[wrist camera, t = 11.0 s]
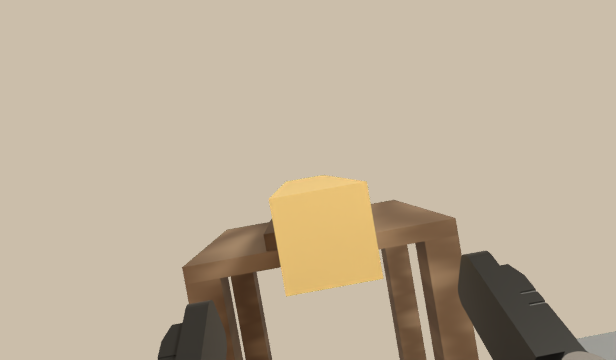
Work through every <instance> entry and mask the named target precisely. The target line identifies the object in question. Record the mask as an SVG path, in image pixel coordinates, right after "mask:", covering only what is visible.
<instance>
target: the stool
mask: <svg viewBox="0 0 616 360" xmlns="http://www.w3.org/2000/svg"><path fill="white" fill-rule="evenodd" d="M371 209H372V215H373V221H374V227H375V233H376V239H377V244H378V249H381V251H382V257H383V263H384V268H385V274H386V280H387V287H388V292H389V298H390V304H391V310H392V316H393V322H394V327H395V333H396V339H397V345H398V350H399V357H400V360H426V354H425V350H424V343H423V337H422V331H421V325H420V319H419V313H418V307H417V301H416V296H415V289H414V284H413V277H412V272H411V266H410V260H409V254H408V248H407V244H411V243H415V244H416V249H417V256H418V261H419V268H420V274H421V279H422V285H423V291H424V297H425V303H426V309H427V315H428V321H429V327H430V333H431V339H432V345H433V351H434V357H435V360H479V359H478V353H477V346H476V340H475V334H474V328H473V324H472V322H471V320H470V319H469V317H468V315H467V313H466V312H465V310H464V308H463V306H462V304H461V301H460V298H459V294H458V280H459V270H460V261H461V256H462V255H461V249H460V244H459V237H458V231H457V225H456V219H455V218H453V217H450V216H446V215H443V214H439V213H436V212H433V211H429V210H426V209H423V208H419V207H416V206H412V205H409V204H406V203H403V202H399V201H396V200H392V201H385V202H380V203H374V204H371ZM279 267H281V265H280V259H279V254H278V248H277V242H276V237H275V231H274V226H273V220H272V219H271V221H270V222H268V223H263V224H256V225H251V226H245V227H240V228H234V229H228V230H226V231H225V232H224V233H223V234H221V235H220V236H219V237H218V238H217V239H215V240H214V241H213V242H212V243H211V244H210V245H208V246H207V247H206V248H205V249H204V250H202V251H201V252H200V253H199V254H198V255H196V256H195V257H194V258H193V259H192V260H191V261H189V262H188V263H187V264H186V265H185V266H183V267H182V269H183V274H184V279H185V284H186V290H187V295H188V301H189V304H192V303H197V302H203V301H208V300H212V301H213V302H214V304H215V307H216V309H217V312H218V314H219V317H220V319H221V322H222V324H223V327H224V330H225V333H226V340H227V355H226V360H243V357H242V352H241V346H240V340H239V335H238V330H237V324H236V319H235V313H234V308H233V302H232V297H231V291H230V286H229V280H228V277H230V276H231V281H232V286H233V292H234V297H235V303H236V308H237V313H238V319H239V324H240V330H241V336H242V341H243V346H244V352H245V358H246V360H272V356H271V351H270V345H269V339H268V334H267V328H266V323H265V317H264V312H263V306H262V301H261V295H260V290H259V284H258V278H257V273H256V272H257V271H262V270H268V269H274V268H279Z"/></svg>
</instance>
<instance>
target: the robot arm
mask: <svg viewBox="0 0 616 360" xmlns="http://www.w3.org/2000/svg"><path fill="white" fill-rule="evenodd" d="M458 294H459V298H460V301H461V304H462V306H463V308H464V310H465V312H466V313H467V315H468V317H469V319H470V320H471V322H472V324H473V326H474V327H475V329H476V331H477V333H478V334H479V336H480V338H481V339H482V341H483V343H484V345H485V346H486V348H487V350H488V352H489V354H490V355H491V357H492V359H493V360H606V359H604V358H602V357H600V356H598V355H595V354H592V353H589V352H587V351H586V350H585V349H584V347H583V346H582V345H581V344H580V343H579V342H578V340H577V339H576V338H575V337H574V336H573V334H572V333H571V332H570V331H569V330H568V328H567V327H566V326H565V325H564V323H563V322H562V321H561V320H560V318H559V317H558V316H557V315H556V313H555V312H554V311H553V310H552V309H551V307H550V306H549V305H548V304H547V303H545V300H544V299H543V297H542V296H541V295H540V294H539V293H538V292H536V290H535V288H534V287H533V285H532V284H531V283H530V282H529V280H528V279H527V278H526V277H525V275H523V274H522V273H520V272H519V271H517V270H516V269H514V268H513V267H511V266H510V265H508V264H506V265H501V266H500V265H499V264H498V263H497V261H496V260H495V259H494V257H493V256H492V255H491V254H490V253H489V252H488V251H481V252H476V253H470V254H465V255H462V256H461V261H460V270H459V280H458ZM226 355H227V340H226V333H225V330H224V327H223V324H222V322H221V319H220V317H219V314H218V312H217V309H216V307H215V304H214V302H213V301H212V300H208V301H203V302H197V303H192V304H188V305H187V306H186V309H185V315H184V320H183V323H180V324H175V325H172V326H171V328H170V329H169V331H168V332H167V334H166V335H165V337H164V339H163V340H162V342H161V346H160V350H159V355H158V360H226Z"/></svg>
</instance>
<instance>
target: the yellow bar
mask: <svg viewBox="0 0 616 360" xmlns="http://www.w3.org/2000/svg"><path fill="white" fill-rule="evenodd" d="M269 203H270V209H271V214H272V220H273V226H274V231H275V237H276V242H277V248H278V254H279V259H280V265H281V270H282V276H283V281H284V287H285V293H286V296H291V295H297V294H302V293H308V292H313V291H319V290H324V289H329V288H334V287H340V286H346V285H351V284H357V283H362V282H368V281H373V280H378V279H383V274H382V268H381V262H380V257H379V251H378V244H377V239H376V233H375V227H374V221H373V215H372V209H371V204H370V198H369V192H368V186H367V182H366V181H359V180H353V179H346V178H339V177H333V176H326V175H321V176H315V177H309V178H304V179H298V180H292V181H287V182H285V183H284V184H283V185H282V186H281V187H280V188H279V189H278V190H277V191H276V192H275V193H274V194H273V195H272V196H271V197H270V198H269Z"/></svg>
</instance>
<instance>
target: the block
mask: <svg viewBox="0 0 616 360" xmlns="http://www.w3.org/2000/svg"><path fill="white" fill-rule="evenodd" d="M577 340H578V342H579V343H580V344H581V345H582V346H583V347H584V349H585V350H586V351H587V352H589V353H592V354H595V355H598V356H600V357H602V358H604V359H606V360H616V331H615V332H610V333H605V334H600V335H595V336H589V337H584V338H579V339H577Z"/></svg>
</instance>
